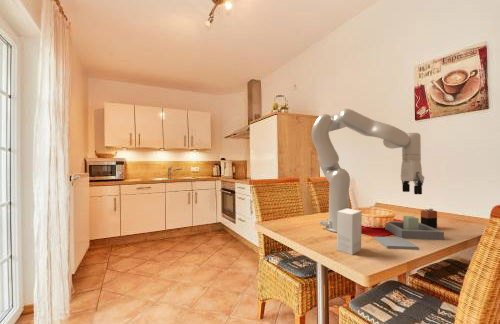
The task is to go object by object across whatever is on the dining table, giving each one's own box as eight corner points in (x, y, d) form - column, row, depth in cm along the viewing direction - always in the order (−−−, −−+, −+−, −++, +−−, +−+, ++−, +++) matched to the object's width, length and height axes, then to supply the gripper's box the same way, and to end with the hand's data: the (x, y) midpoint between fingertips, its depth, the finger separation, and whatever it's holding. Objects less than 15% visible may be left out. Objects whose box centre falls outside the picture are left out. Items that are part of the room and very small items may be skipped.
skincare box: (346, 245, 97) (346, 208, 97) (362, 250, 92) (363, 210, 92) (336, 250, 91) (336, 210, 91) (352, 255, 86) (353, 213, 86)
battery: (437, 228, 125) (437, 209, 125) (428, 229, 123) (428, 210, 123) (429, 226, 129) (429, 208, 129) (420, 227, 127) (420, 208, 127)
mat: (387, 248, 94) (387, 245, 94) (374, 238, 106) (374, 236, 106) (418, 249, 93) (418, 246, 93) (401, 239, 105) (401, 237, 105)
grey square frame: (401, 238, 107) (401, 230, 107) (382, 227, 125) (382, 221, 125) (443, 239, 105) (443, 232, 105) (418, 228, 123) (418, 222, 123)
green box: (408, 234, 113) (408, 217, 113) (403, 231, 118) (403, 215, 118) (418, 234, 113) (418, 218, 113) (412, 232, 117) (412, 216, 117)
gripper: (394, 158, 124) (394, 190, 124) (414, 157, 107) (414, 195, 107) (409, 158, 124) (409, 190, 124) (431, 157, 106) (432, 195, 106)
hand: (411, 192), depth 115 cm, fingers open, 9 cm apart
